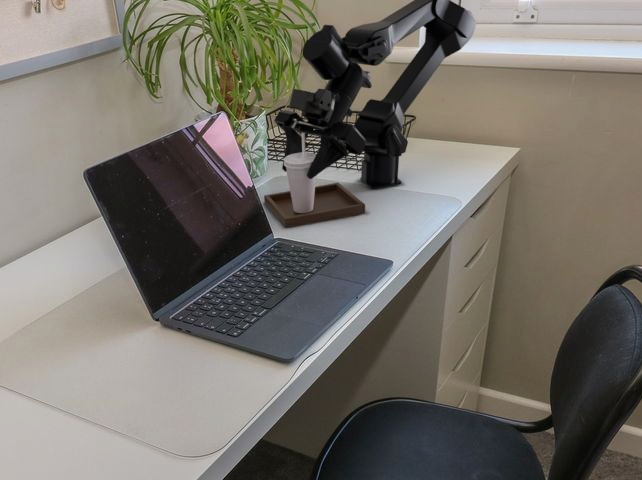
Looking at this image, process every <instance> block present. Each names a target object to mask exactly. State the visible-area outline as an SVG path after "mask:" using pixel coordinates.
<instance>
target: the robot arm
mask: <svg viewBox="0 0 642 480" xmlns="http://www.w3.org/2000/svg"><path fill="white" fill-rule="evenodd" d="M476 22H477V21H476V19H475V16H474V14H473V12H472V11H471V10H469V9H466V8H465V7H463V6H461V5H459V4H458V3H456V2H454V1H452V0H412V1H411V2H409V3H407V4H406V5H404V6H402V7H400V8H399V9H397V10H396V11H394V12H393V13H391V14H389V15H388V16H386V17H385V18H383V19H381V20H379V21H376V22H371V23H364V24H360V25H357V26H353V27H351V28H350V29H349V30H348V31H347V32H346V33H345V36H342V37H341V36H340V33H338V30H337V28H336V27H335V25H334V24H323V26H322V28H321V29H320V30H318V31H317V32H315V33H313V34H312V35H311V36H310V37H309V38H308V39H307V40H306V41H305V42H304V44H303V47H302V51H301V53H302V57H303V59H304V60H306V62H307V63H308V65H310V66H311V68H312V69H313V70H314V71H315V72H316V74H317V75H318V76H319V77H320V78H321V79H322V80H324V81H327V83H326V84H325V86H324V88H318V89H317V90H316V91H315V92H312V91H308V90H302V89H298V88H297V89H296V88H293V89H292V92H291V96H290V101H289V105H288V108H289V109H291V111H290V110H287V109H283V110H280V111H278V113H277V114H276V117H275V119H274V124H276V125H277V127H279V128H280V129H281V131H283V133H284V134H285V138H286V140H285V149H284V155H283V161H282V167H281V169H282V170H283V172H286V173H287V170H286V167H285V166H284V158H285V157H286V156H288V155H291V154H294V153H302V133H305V150H307V148H308V147H309V146H310V144H309V143H308V142H307V141H306V139H307V138H308V136H309V135H311V136H314V137H318V138H320V143H319V144H320V145H319V148H318V150H317V152H316V153H315V154H316V156H315V158H314V160H313V162H312V164H311V166H310V168H309V171H308V174H307V177H308V178H309V179H312V178H313V177H315V176H316V177H317V176H318V175H319V174H320V173H322V172H323V171H324V170H326V169H327V168H328V167H330V166H332V165H333V164H335V163H336V162H338V161H339V160H341V159H342V158H344V157H346V158H347V157H348V156H349V155H350V154H352V155H357V156H361V155H362V153H363V159H362V160H361V172H360V173H361V177H359V180H360V182H362V183H364V184H365V185H367V187H369V188H370V189H371V190H372V189H373V190H375V189H381V188H385V187H386V188H387V187H391V186H397V185H401V184H402V180H400V179H399V164H400V157H401V156H402V155H403V154H405V153H406V152H407V148H408V145H409V141H408V139H407V138H406V137H405V135H404V134H403V133H402V131H403V130H404V129H403V128H404V115H405V114H406V112H407V111H408V109H409V108H410V107H411V105H412V104H413V103H414V101H415V99H417V97H418V95H419V94H420V93H421V91H422V90H423V88H424V87H425V86H426V85H427V83H428V82H429V81H430V79H431V78H432V76H433V75H434V74H435V72H436V71H437V70H438V68H440V65H441V64H442V63H443V61H444V60H445V59H447V58H448V57H450V56H451V55H453V54H455V53H457V52H459V51H460V50H462V49H463V48H464V47H465V46H466V45H467V44H468V42H469V41H470V40H471V39H472V37H473V35H474V33H475V31H476V26H477V23H476ZM422 27H424V29H425V32H424V33H425V35H424V42H423V44H422V45H421V47H420V49H419V50H418V51H417V52H416V54H415V55H414V57H412V60H411V61H410V62H409V63H408V65H407V66H406V68H405V69H404V70H403V72H402V73H401V75H400V76H399V77H398V79H397V80H396V81H395V83H394V84H393V85H392V86H391V88H390V89H389V91H388V92H387V93H386V95H385V96H384V97H383V98H382V99H381V100H380V99H373V98H370V99H368V101H367V102H366V103H365V105H364V107H363V108H362V110H361V111H360V112H358V113H357V116H358V117H357V119H356V120H355V121H354V124H353V123H347V122H344V120H345V118H346V117H348V118H351V117H352V115H353V114H354V111H353V110H352V109H351V107H352V105H353V103H354V102H355V100H356V98H357V96H358V94H359V93H360V90H361V89H362V88H366V89H371V88H372V85H373V83H372V80H371V71H368V70H364V69H363V68H362V66H361V65H363V66H364V65H366V66H372V67H376V66H379V65H380V64H382V63H383V62H384V61H385V60H386V59H387V58H388V57H390V55H391V54H392V53H393V50H394V46H395V45H396V44H398V42H401V41H403V39H405V38H406V37H408V36H410V35H411V34H414V33H415V32H416V31H418V30H419V29H421V28H422ZM293 109H295V110H298V111H300V112H302V113H301V116H302V117H303V118H304V119H303V118H302V117H301V116H300V115H299V114H298V112H295V111H292V110H293ZM305 119H307V121H305Z"/></svg>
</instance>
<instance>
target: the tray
mask: <svg viewBox="0 0 642 480" xmlns="http://www.w3.org/2000/svg"><path fill="white" fill-rule="evenodd" d="M263 198H264V199H263V201H264V206H266V207H267V209H269V211H270V212H271V213H272V214H273V215H274V216H275V218H276V219H277V220H278V221H279V222H280V223H281V224H282V226H283V227H284V228H285V229H288V228H292V227H298V226H303V225H309V224H315V223H321V222H326V221H330V220H337V219H341V218H347V217H354V216H359V215H364V214H366V204H365V203H364V202H362V201H361V200H360V199H359V198H358V197H357V196H355V194H353V193H352V192H350V191H349V190H348V189H347V188H345V186H343V185H342V184H341V183H340V182H334V183H327V184H323V185H315V194H314V205H313V210H312V211H311V212H308V213H297V212H295V211H294V209H293V204H292V198H291V192H290V190H287V191H281V192H276V193H275V192H274V193H270V194H269V193H268V194H264V195H263Z"/></svg>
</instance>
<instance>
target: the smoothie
mask: <svg viewBox="0 0 642 480" xmlns="http://www.w3.org/2000/svg"><path fill="white" fill-rule="evenodd" d="M305 141H306V139H305V133H302V153H294V154H291V155H288V156H286V157H285V158H284V157H283V160H284V166H285V167H286V170H287V172H286V176H287V180H288V188H289V191H290V192H291V198H292V204H293V209H294V211H295V212H297V213H308V212H311V211H312V210H313V205H314V194H315V186H316V183H317V182H316V181H317V175H316V176H315V177H313V178H312V179H309V178H308V177H307V174H308V171H309V168H310V166H311V164H312V162H313V160H314V158H315V156H316V154H317V153H313V152H306V149H305Z"/></svg>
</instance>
